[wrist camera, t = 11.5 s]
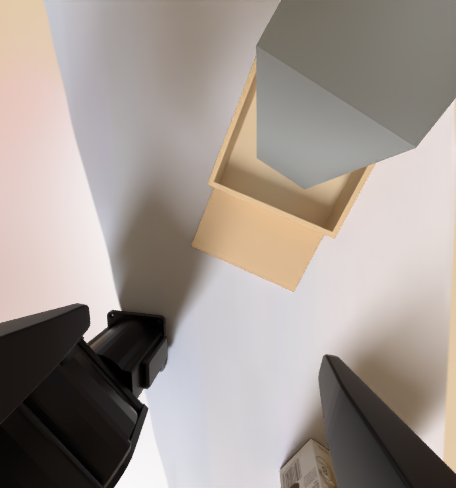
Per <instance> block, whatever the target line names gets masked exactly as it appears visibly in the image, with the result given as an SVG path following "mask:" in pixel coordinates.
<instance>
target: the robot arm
mask: <svg viewBox="0 0 456 488" xmlns="http://www.w3.org/2000/svg"><path fill="white" fill-rule="evenodd" d="M112 314H113V316H112ZM107 320H108V327H107V328H106V329H104V330H103V331H102V332H101V333H100V334H98V335H97V336H96V337H95V338H93V339H92V340H91V341H89V342H88V343H86V342H85V341H84V337H83V334H84V333H85V332H86V331H87V330H88V328H89V326H90V314H89V307H88V306H87V305H84V304H79V303H77V304H72V305H69V306H65V307H61V308H57V309H53V310H49V311H46V312H41V313H38V314H34V315H30V316H26V317H22V318H18V319H14V320H10V321H6V322H2V323H0V488H114V487H115V485H116V484H117V482H118V481H119V479H120V478H121V476H122V475H123V473H124V471H125V470H126V468H127V466H128V464H129V462H130V460H131V458H132V455H133V453H134V450H135V447H136V444H137V441H138V438H139V435H140V432H141V429H142V426H143V423H144V420H145V417H146V414H147V412H148V407H147V406H146V405H145V404H142V403H141V402H140V401H139V400H138V399H137V398H138V397H139V395H140V394H141V392H142V390H143V389H148V388H149V387H150V386H151V384H152V383H153V381H154V379H155V378H156V376H157V374H158V373H159V372H162V371H163V370H164V368H165V366H166V359H167V337H166V336H165V318H164V317H163V316H159V315H150V314H142V313H133V312H125V311H116V310H112V311H110V312H109V313H108V314H107ZM159 320H161V322H160V321H159ZM319 388H320V395H321V403H322V410H323V418H324V425H325V432H326V437H327V442H328V447H329V451H330V455H331V460H332V464H333V468H334V473H335V477H336V481H337V486H338V488H456V474H455V473H454V472H453V471H452V470H451V469H450V468H449V467H448V466H447V465H446V464H445V463H444V462H443V461H442V460H441V459H440V458H439V457H438V456H437V455H436V454H435V453H434V452H433V451H432V450H431V449H430V448H429V447H428V446H427V445H426V444H425V443H424V442H423V441H422V440H421V439H420V438H419V437H418V436H417V435H416V434H415V433H414V432H413V431H412V430H411V429H410V428H409V427H408V426H407V425H406V424H405V423H404V422H403V421H402V420H401V419H400V418H399V417H398V416H397V415H396V414H395V413H394V412H393V411H392V410H391V409H390V408H389V407H388V406H387V405H386V404H385V403H384V402H383V401H382V400H381V399H380V398H379V397H378V396H377V395H376V394H375V393H374V392H373V391H372V390H371V389H370V388H369V387H368V386H367V385H366V384H365V383H364V382H363V381H362V380H361V379H360V378H359V377H358V376H357V375H356V374H355V373H354V372H353V371H352V370H351V369H350V368H349V367H348V366H347V365H346V364H345V363H344V362H343V361H342V360H341V359H340V358H339V357H337V356H333V355H328V354H326V355H324V356H323V359H322V363H321V367H320V371H319Z"/></svg>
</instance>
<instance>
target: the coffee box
mask: <svg viewBox="0 0 456 488" xmlns="http://www.w3.org/2000/svg"><path fill="white" fill-rule="evenodd" d="M280 481H281V488H338V486H337V481H336V477H335V473H334V468H333V464H332V460H331V455H330V451H329V450H327V449H326V448H324V447H323V446H321V445H320V444H319V443H317V442H316V441H314V440H312V439H310V440H309V441H308V442H307V443H306V444H305V445H304V446H303V447H302V448H301V449H300V450H299V451H298V452H297V453H296V454H295V455H294V456H293V457H292V458H291V459H290V460H289V461H288V462H287V464H286V465H285V466H284V467H283V468H282V469H281V470H280Z"/></svg>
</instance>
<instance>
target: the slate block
mask: <svg viewBox="0 0 456 488" xmlns="http://www.w3.org/2000/svg"><path fill="white" fill-rule="evenodd" d="M455 98H456V0H281V2H280V4H279V6H278V7H277V9H276V11H275V13H274V15H273V16H272V18H271V20H270V22H269V24H268V25H267V27H266V29H265V31H264V33H263V34H262V36H261V38H260V40H259V42H258V43H257V45H256V108H257V159H259V160H260V161H262V162H263V163H265V164H267V165H268V166H270V167H271V168H273V169H274V170H276V171H277V172H279V173H280V174H282V175H283V176H285V177H286V178H288V179H290V180H291V181H293V182H294V183H296V184H297V185H299V186H300V187H302V188H303V189H308V188H310V187H313V186H315V185H318V184H321V183H323V182H326V181H329V180H331V179H334V178H337V177H339V176H342V175H345V174H347V173H350V172H353V171H355V170H358V169H361V168H363V167H366V166H369V165H371V164H374V163H376V162H379V161H382V160H384V159H387V158H390V157H392V156H395V155H398V154H400V153H403V152H406V151H408V150H411V149H414V148H416V147H417V146H418V145H419V143H420V142H421V141H422V139H423V138H424V137H425V136H426V134H427V133H428V132H429V131H430V129H431V128H432V127H433V126H434V124H435V123H436V122H437V121H438V119H439V118H440V117H441V116H442V114H443V113H444V112H445V111H446V109H447V108H448V107H449V106H450V104H451V103H452V102H453V100H454V99H455Z"/></svg>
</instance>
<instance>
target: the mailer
mask: <svg viewBox="0 0 456 488" xmlns="http://www.w3.org/2000/svg"><path fill="white" fill-rule="evenodd" d="M375 164H376V163H374V164H371V165H369V166H366V167H363V168H361V169H358V170H355V171H353V172H350V173H347V174H345V175H342V176H339V177H337V178H334V179H331V180H329V181H326V182H323V183H321V184H318V185H315V186H313V187H310V188H308V189H303V188H302V187H300V186H299V185H297V184H296V183H294V182H293V181H291V180H290V179H288V178H286V177H285V176H283V175H282V174H280V173H279V172H277V171H276V170H274V169H273V168H271V167H270V166H268V165H267V164H265V163H263V162H262V161H260V160H259V159H257V108H256V58H255V60H254V63H253V65H252V68H251V71H250V73H249V76H248V79H247V81H246V84H245V87H244V89H243V92H242V94H241V97H240V100H239V102H238V105H237V108H236V110H235V113H234V116H233V118H232V121H231V123H230V126H229V129H228V131H227V134H226V137H225V139H224V142H223V145H222V147H221V150H220V152H219V155H218V158H217V160H216V163H215V166H214V168H213V171H212V174H211V176H210V179H209V182H208V184H207V185H209V186H211V187H214V188H213V191H212V194H211V196H210V199H209V201H208V204H207V207H206V209H205V212H204V214H203V217H202V219H201V222H200V225H199V227H198V230H197V232H196V235H195V238H194V240H193V243H192V245H191V246H192V247H194V248H196V249H199V250H201V251H203V252H205V253H207V254H210V255H212V256H214V257H216V258H219V259H221V260H223V261H225V262H228V263H230V264H232V265H234V266H237V267H239V268H241V269H243V270H246V271H248V272H250V273H252V274H255V275H257V276H259V277H261V278H264V279H266V280H268V281H270V282H272V283H275V284H277V285H279V286H281V287H284V288H286V289H288V290H290V291H293V292H294V291H295V289H296V287H297V285H298V283H299V281H300V280H301V278H302V276H303V274H304V272H305V270H306V268H307V266H308V264H309V263H310V261H311V259H312V257H313V255H314V253H315V251H316V249H317V247H318V245H319V244H320V242H321V240H322V238H323V236H324V235H326V236H329V237H331V238H334V239H335V238H336V236H337V234H338V232H339V230H340V228H341V226H342V225H343V223H344V221H345V219H346V217H347V215H348V214H349V212H350V210H351V208H352V206H353V204H354V202H355V201H356V199H357V197H358V195H359V193H360V191H361V190H362V188H363V186H364V184H365V182H366V180H367V178H368V177H369V175H370V173H371V171H372V169H373V167H374V165H375Z"/></svg>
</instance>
